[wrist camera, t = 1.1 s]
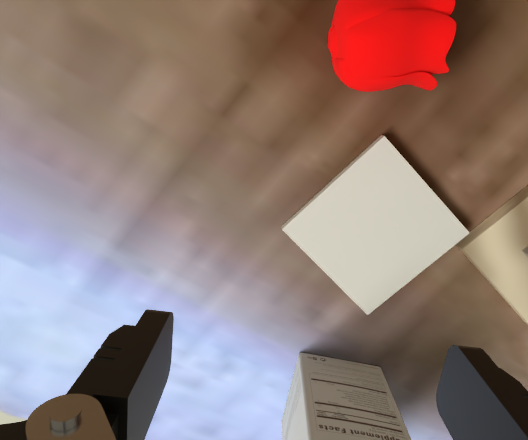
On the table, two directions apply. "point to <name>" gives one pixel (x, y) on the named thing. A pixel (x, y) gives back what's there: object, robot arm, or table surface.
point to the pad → (375, 226)
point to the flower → (391, 42)
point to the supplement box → (340, 402)
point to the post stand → (503, 251)
